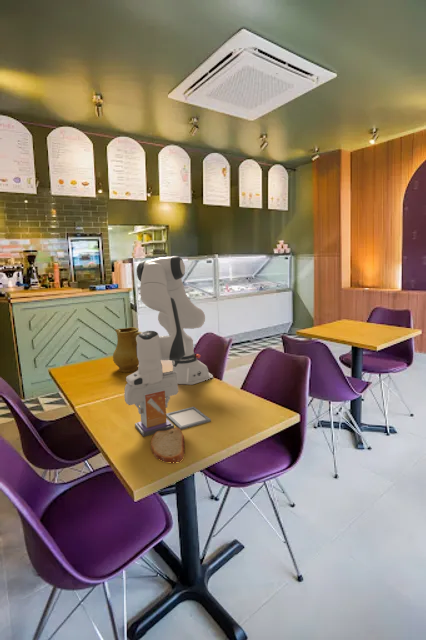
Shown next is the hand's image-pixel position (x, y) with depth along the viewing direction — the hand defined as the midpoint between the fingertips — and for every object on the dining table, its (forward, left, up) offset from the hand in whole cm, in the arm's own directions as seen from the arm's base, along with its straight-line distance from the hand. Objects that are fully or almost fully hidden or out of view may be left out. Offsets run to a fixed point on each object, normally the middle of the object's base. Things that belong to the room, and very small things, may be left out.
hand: (153, 410), depth 134 cm
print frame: (-14, 0, -7) cm, 16 cm away
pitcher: (-14, -81, -7) cm, 82 cm away
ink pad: (0, 0, -7) cm, 7 cm away
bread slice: (0, +17, -8) cm, 18 cm away
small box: (0, 0, -5) cm, 5 cm away
